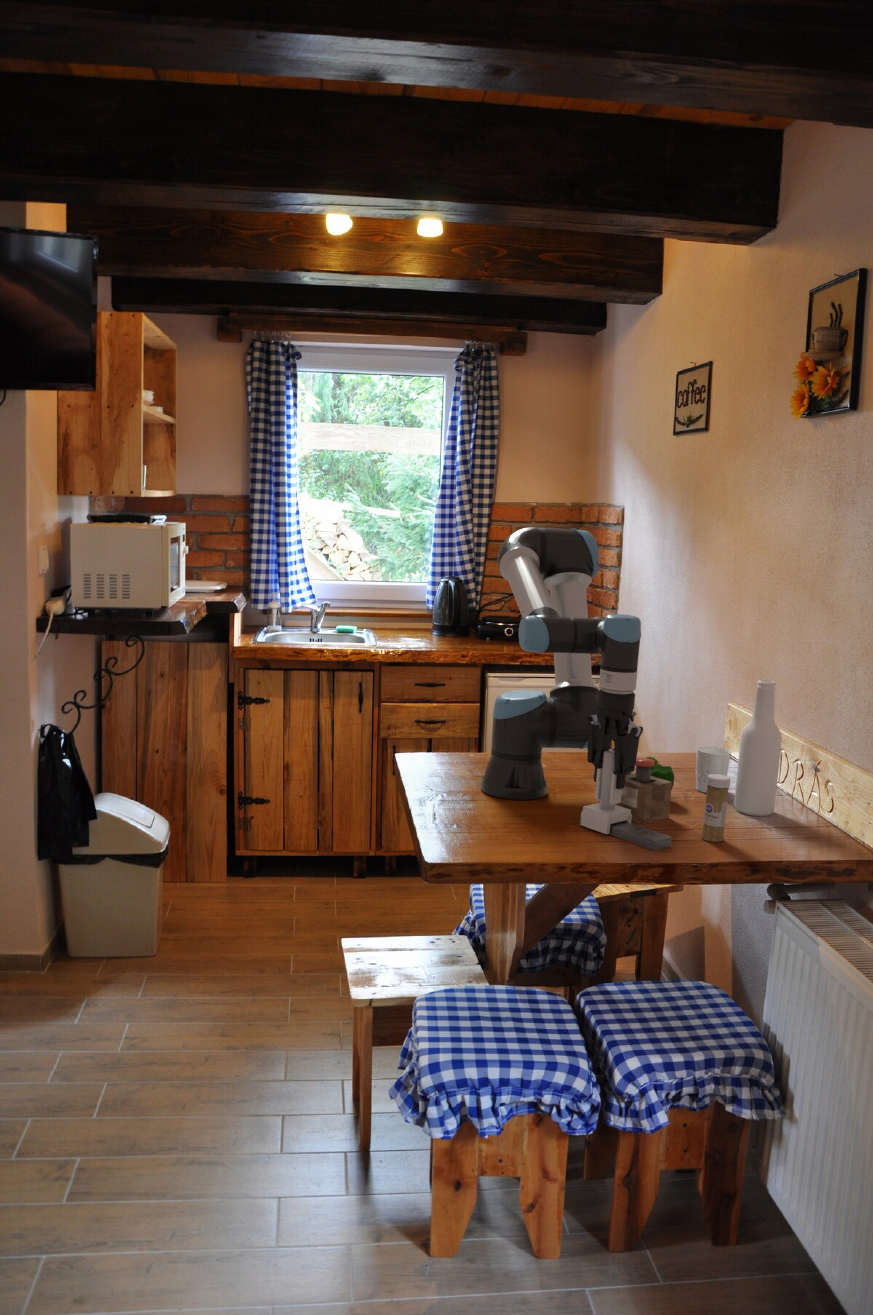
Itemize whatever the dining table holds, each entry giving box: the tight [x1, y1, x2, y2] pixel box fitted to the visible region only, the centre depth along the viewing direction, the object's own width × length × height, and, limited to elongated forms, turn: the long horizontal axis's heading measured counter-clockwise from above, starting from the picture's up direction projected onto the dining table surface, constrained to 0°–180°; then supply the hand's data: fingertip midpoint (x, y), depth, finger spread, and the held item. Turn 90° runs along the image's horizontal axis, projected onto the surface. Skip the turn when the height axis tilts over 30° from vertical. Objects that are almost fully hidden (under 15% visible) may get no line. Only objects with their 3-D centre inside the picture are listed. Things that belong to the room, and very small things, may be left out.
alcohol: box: [733, 679, 782, 817], centre depth 241 cm, size 9×9×30 cm
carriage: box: [580, 750, 632, 835], centre depth 223 cm, size 7×8×16 cm
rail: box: [578, 814, 673, 852], centre depth 221 cm, size 20×5×2 cm, turn 41°
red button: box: [635, 757, 655, 784], centre depth 234 cm, size 4×4×8 cm
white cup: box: [695, 745, 732, 794], centre depth 259 cm, size 8×8×10 cm
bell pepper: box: [645, 756, 675, 791], centre depth 248 cm, size 8×8×10 cm
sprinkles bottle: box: [701, 774, 731, 843], centre depth 220 cm, size 5×5×14 cm
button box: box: [615, 772, 673, 825], centre depth 235 cm, size 9×9×8 cm
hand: (607, 800), depth 224 cm, fingers closed on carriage, 3 cm apart
